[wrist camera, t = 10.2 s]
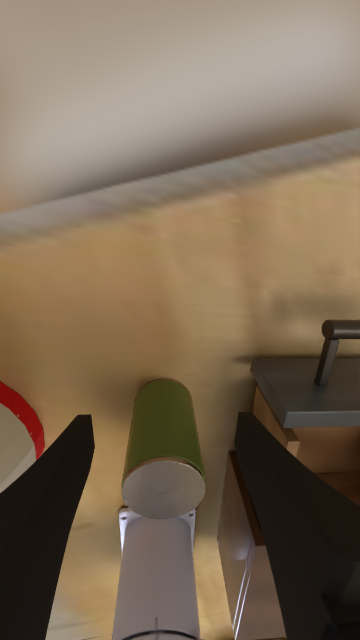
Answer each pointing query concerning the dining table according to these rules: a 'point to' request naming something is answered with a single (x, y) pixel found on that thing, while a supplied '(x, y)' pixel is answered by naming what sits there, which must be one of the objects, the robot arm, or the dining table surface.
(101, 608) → the dining table surface
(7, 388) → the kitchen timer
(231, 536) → the cabinet
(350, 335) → the drawer
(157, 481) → the tin can
